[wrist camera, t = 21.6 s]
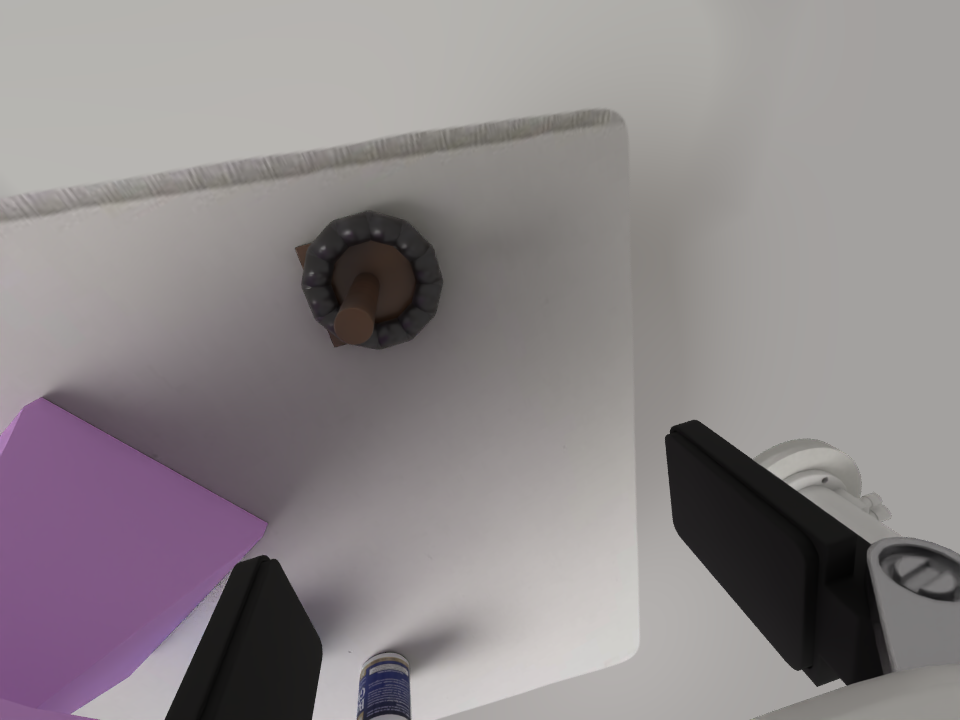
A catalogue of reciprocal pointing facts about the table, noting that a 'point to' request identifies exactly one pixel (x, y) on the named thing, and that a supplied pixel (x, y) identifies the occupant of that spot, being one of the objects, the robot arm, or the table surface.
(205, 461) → the table surface
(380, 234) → the ring
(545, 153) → the table surface
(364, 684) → the pill bottle
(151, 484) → the purple table lamp
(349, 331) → the stand
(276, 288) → the table surface
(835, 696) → the robot arm
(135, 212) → the table surface
